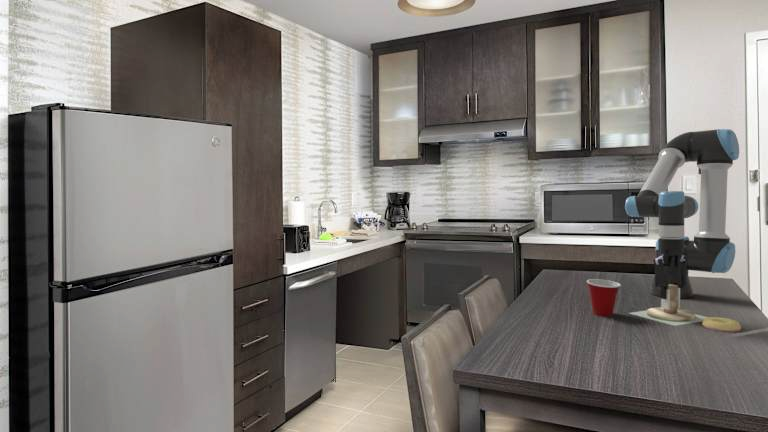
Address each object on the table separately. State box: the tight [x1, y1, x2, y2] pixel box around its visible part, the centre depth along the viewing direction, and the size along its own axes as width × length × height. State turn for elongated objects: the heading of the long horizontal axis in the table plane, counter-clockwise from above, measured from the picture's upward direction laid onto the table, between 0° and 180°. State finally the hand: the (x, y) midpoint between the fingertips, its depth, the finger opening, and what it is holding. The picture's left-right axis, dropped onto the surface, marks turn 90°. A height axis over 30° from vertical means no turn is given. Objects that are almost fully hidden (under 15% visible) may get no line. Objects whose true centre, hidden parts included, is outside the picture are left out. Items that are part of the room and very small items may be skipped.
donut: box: [701, 316, 742, 333], centre depth 159 cm, size 10×5×9 cm
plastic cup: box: [586, 278, 622, 317], centre depth 178 cm, size 11×11×12 cm
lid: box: [646, 284, 696, 321], centre depth 173 cm, size 14×14×10 cm
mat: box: [628, 309, 709, 327], centre depth 173 cm, size 18×18×1 cm
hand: (670, 307), depth 173 cm, fingers closed on lid, 4 cm apart
